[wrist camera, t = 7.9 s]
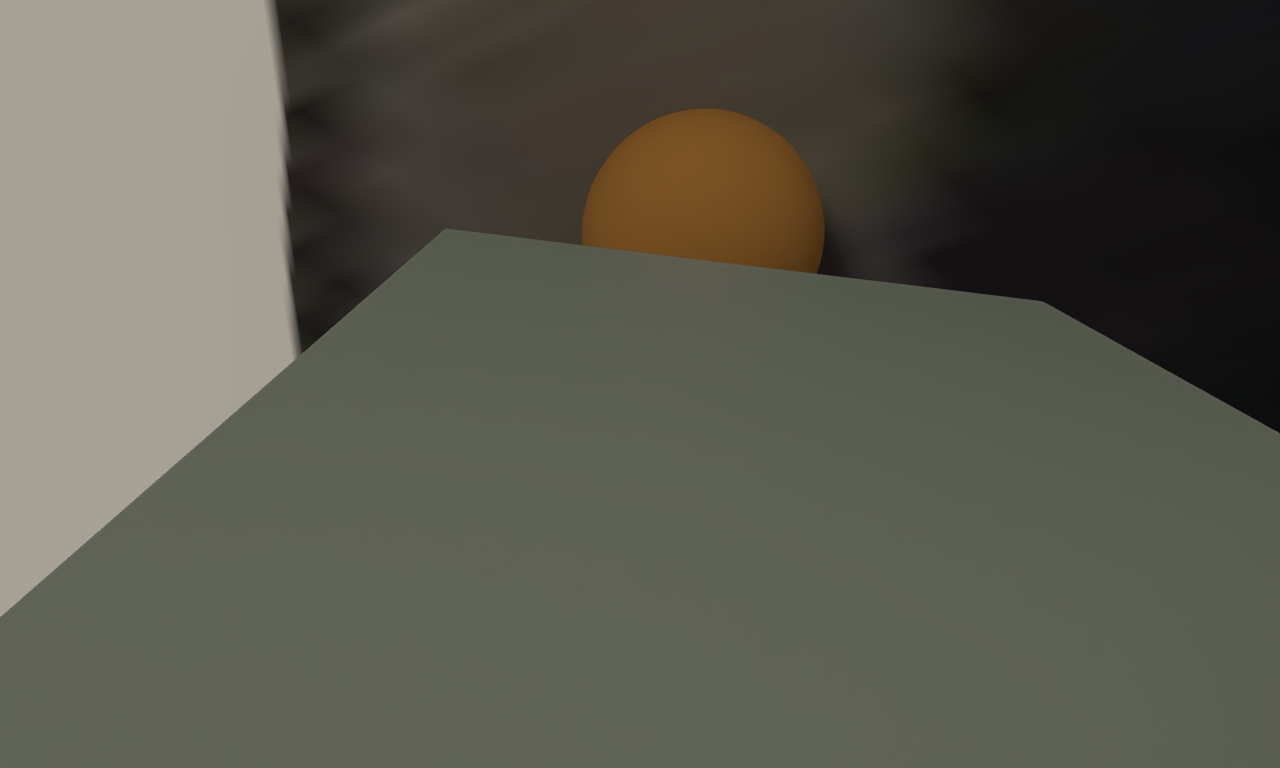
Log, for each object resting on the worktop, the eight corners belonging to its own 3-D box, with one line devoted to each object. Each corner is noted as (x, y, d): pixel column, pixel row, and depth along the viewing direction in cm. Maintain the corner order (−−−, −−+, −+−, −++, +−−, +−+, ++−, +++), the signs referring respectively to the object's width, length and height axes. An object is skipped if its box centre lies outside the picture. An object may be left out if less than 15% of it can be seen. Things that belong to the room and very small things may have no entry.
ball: (885, 209, 12) (835, 84, 15) (577, 171, 11) (599, 52, 15) (800, 416, 15) (776, 275, 19) (564, 391, 15) (584, 253, 18)
